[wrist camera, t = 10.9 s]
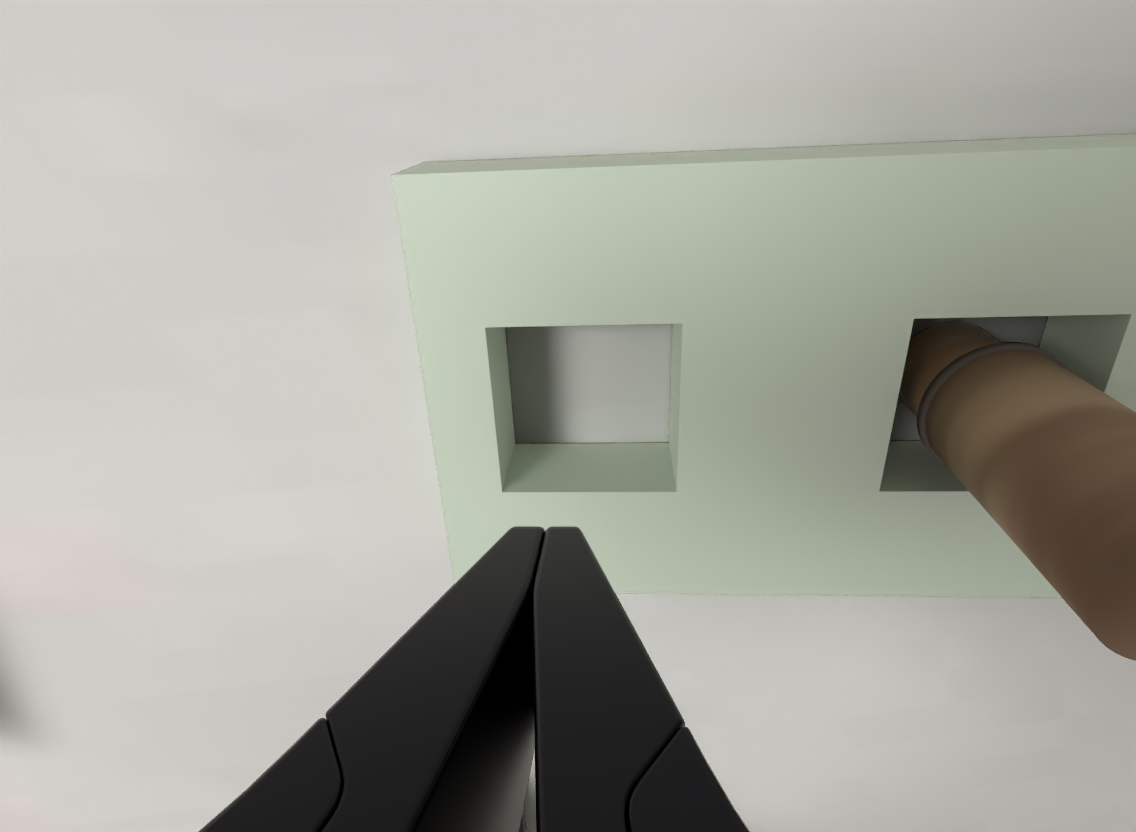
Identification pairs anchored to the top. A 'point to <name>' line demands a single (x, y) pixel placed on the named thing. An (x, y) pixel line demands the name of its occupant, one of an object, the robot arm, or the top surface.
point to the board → (761, 346)
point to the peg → (1037, 463)
